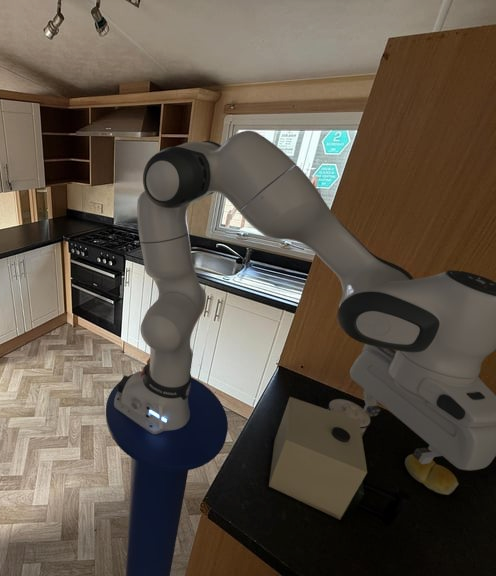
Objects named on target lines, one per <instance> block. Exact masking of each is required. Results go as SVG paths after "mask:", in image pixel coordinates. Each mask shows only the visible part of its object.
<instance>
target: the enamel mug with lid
mask: <svg viewBox="0 0 496 576" xmlns="http://www.w3.org/2000/svg"><path fill="white" fill-rule="evenodd" d="M363 409H364V407H361V406H360V405H358V404H356V403H355V402H353V401H350V400H347V399H343V398H337V399H333V400H331V401H330V402H329V403H328V405H327V410H330V411H333V412H336V413H339V414H342V415H345V416H347V417H350V418H353V419H356V420H359V422H360V429H361V435H362V437H363V435H364V434H365V432H366V430H367V428H368V427H370V425H371V417H370V416H369V415H368V414H367V413H366V412H365V411H363Z"/></svg>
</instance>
